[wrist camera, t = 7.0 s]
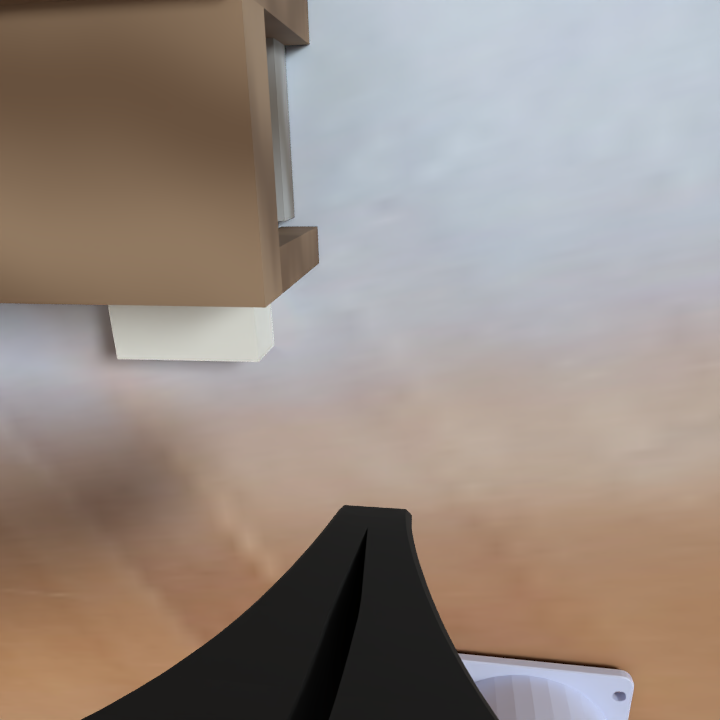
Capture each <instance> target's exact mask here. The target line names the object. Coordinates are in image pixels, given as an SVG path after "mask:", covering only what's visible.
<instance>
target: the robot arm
mask: <svg viewBox="0 0 720 720" xmlns="http://www.w3.org/2000/svg"><path fill="white" fill-rule="evenodd" d="M633 690H634V683H633V680H632V677H631V676H630V674H629V673H627V672H626V671H623V670H617V669H608V668H598V667H588V666H578V665H568V664H558V663H548V662H538V661H529V660H519V659H509V658H499V657H489V656H479V655H469V654H459V653H458V652H457V651H456V649H455V647H454V645H453V643H452V641H451V639H450V637H449V635H448V633H447V631H446V629H445V627H444V625H443V622H442V620H441V618H440V616H439V613H438V611H437V609H436V607H435V604H434V602H433V600H432V597H431V594H430V592H429V589H428V587H427V584H426V581H425V578H424V575H423V572H422V569H421V566H420V563H419V560H418V556H417V553H416V549H415V544H414V540H413V535H412V515H411V514H410V513H409V512H408V511H407V510H406V509H394V508H379V507H364V506H349V505H344V506H343V507H342V508H341V509H340V510H339V511H338V512H337V513H336V515H335V516H334V517H333V519H332V520H331V521H330V523H329V524H328V525H327V526H326V528H325V529H324V530H323V531H322V533H321V534H320V535H319V536H318V537H317V539H316V540H315V541H314V542H313V543H312V545H311V546H310V547H309V548H308V549H307V550H306V551H305V552H304V553H303V555H302V556H301V557H300V558H299V559H298V560H297V561H296V562H295V563H294V565H293V566H292V567H291V568H290V569H289V570H288V571H287V572H286V573H285V574H284V575H283V576H282V577H281V578H280V579H279V580H278V581H277V582H276V583H275V584H274V585H273V586H272V587H271V588H270V589H269V590H268V591H267V592H266V593H265V594H264V595H263V596H262V597H261V598H260V599H259V600H258V601H257V602H255V603H254V604H253V605H252V606H251V607H250V608H249V609H248V610H247V611H245V612H244V613H243V614H242V615H241V616H240V617H239V618H237V619H236V620H235V621H234V622H233V623H231V624H230V625H229V626H228V627H226V628H225V629H224V630H223V631H222V632H220V633H219V634H218V635H216V636H215V637H214V638H213V639H211V640H210V641H208V642H207V643H206V644H204V645H203V646H202V647H200V648H199V649H197V650H196V651H195V652H193V653H192V654H190V655H189V656H187V657H186V658H185V659H183V660H182V661H180V662H179V663H177V664H176V665H174V666H173V667H172V668H170V669H169V670H167V671H166V672H164V673H162V674H161V675H159V676H158V677H156V678H154V679H153V680H151V681H149V682H148V683H146V684H145V685H143V686H141V687H140V688H138V689H136V690H135V691H133V692H131V693H129V694H128V695H126V696H124V697H122V698H121V699H119V700H117V701H115V702H114V703H112V704H110V705H108V706H106V707H105V708H103V709H101V710H99V711H97V712H95V713H93V714H92V715H89V716H87V717H85V718H83V719H81V720H628V717H629V711H630V706H631V700H632V695H633ZM618 691H621V692H618ZM615 692H618V693H615Z"/></svg>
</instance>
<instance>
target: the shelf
mask: <svg viewBox="0 0 720 720" xmlns="http://www.w3.org/2000/svg"><path fill="white" fill-rule="evenodd" d="M306 44H309V27H308V4H307V0H0V303H26V304H85V305H144V306H202V307H261V308H266V307H267V306H268V305H269V304H270V303H272V302H273V301H274V300H275V299H276V298H278V297H279V296H280V295H281V294H282V293H284V292H285V291H286V290H287V289H288V288H290V287H291V286H292V285H293V284H294V283H296V282H297V281H298V280H299V279H300V278H302V277H303V276H304V275H305V274H306V273H308V272H309V271H310V270H311V269H312V268H314V267H315V266H316V265H317V264H319V253H318V230H317V227H280V228H278V221H287V220H289V219H292V218H294V199H293V182H292V164H291V146H290V129H289V111H288V94H287V76H286V59H285V46H286V45H306Z"/></svg>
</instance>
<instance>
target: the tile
mask: <svg viewBox="0 0 720 720" xmlns="http://www.w3.org/2000/svg"><path fill="white" fill-rule="evenodd" d="M108 310H109V316H110V321H111V327H112V332H113V338H114V343H115V349H116V354H117V359H134V360H186V361H238V362H259V361H260V360H261V359H262V358H263V357H264V356H265V355H266V354H267V353H268V351H269V350H270V349H271V348H272V347H273V346H274V336H273V324H272V313H271V303H270V304H269V305H268V306H267V307H266V308H261V307H202V306H144V305H108Z"/></svg>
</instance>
